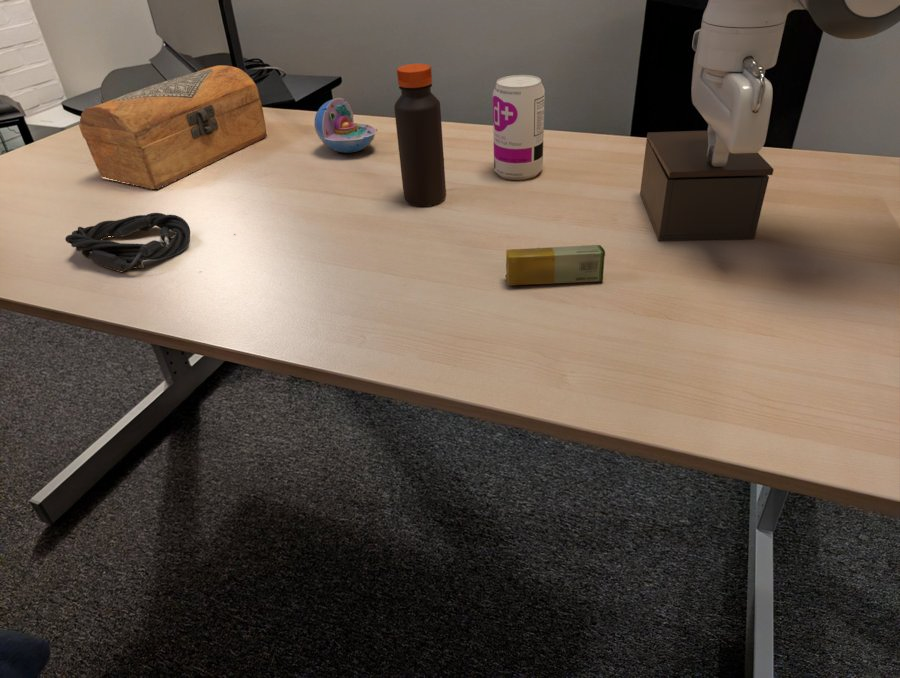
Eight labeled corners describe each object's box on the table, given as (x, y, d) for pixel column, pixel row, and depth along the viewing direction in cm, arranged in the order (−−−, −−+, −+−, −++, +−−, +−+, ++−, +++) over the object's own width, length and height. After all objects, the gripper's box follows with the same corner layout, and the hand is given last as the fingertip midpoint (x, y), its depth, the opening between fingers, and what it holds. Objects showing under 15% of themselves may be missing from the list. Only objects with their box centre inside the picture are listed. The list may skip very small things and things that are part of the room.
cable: (54, 259, 95) (42, 232, 92) (131, 219, 105) (122, 193, 102) (135, 281, 88) (124, 253, 85) (210, 236, 98) (202, 210, 95)
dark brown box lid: (772, 175, 81) (774, 169, 81) (669, 178, 83) (670, 171, 82) (735, 134, 95) (736, 129, 94) (646, 137, 96) (647, 132, 96)
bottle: (395, 199, 105) (380, 69, 93) (428, 186, 108) (417, 59, 97) (422, 211, 101) (409, 76, 89) (455, 197, 104) (447, 66, 92)
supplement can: (511, 185, 107) (511, 91, 98) (485, 170, 113) (483, 80, 104) (552, 173, 110) (555, 81, 101) (524, 159, 116) (525, 71, 107)
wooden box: (157, 193, 113) (130, 112, 105) (97, 179, 120) (67, 102, 112) (275, 137, 133) (259, 66, 125) (218, 128, 141) (199, 60, 132)
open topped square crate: (754, 239, 88) (769, 177, 82) (658, 241, 89) (667, 179, 84) (723, 191, 100) (735, 135, 95) (639, 193, 101) (646, 138, 96)
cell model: (360, 163, 119) (353, 110, 113) (308, 156, 124) (298, 104, 118) (389, 145, 126) (383, 94, 120) (339, 138, 131) (331, 89, 125)
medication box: (599, 273, 83) (601, 243, 81) (604, 282, 81) (607, 252, 79) (505, 277, 83) (505, 247, 81) (507, 286, 81) (507, 256, 79)
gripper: (798, 69, 67) (767, 195, 75) (741, 28, 83) (720, 135, 91) (734, 72, 67) (711, 196, 76) (690, 30, 84) (674, 136, 92)
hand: (716, 162), depth 84 cm, fingers closed
